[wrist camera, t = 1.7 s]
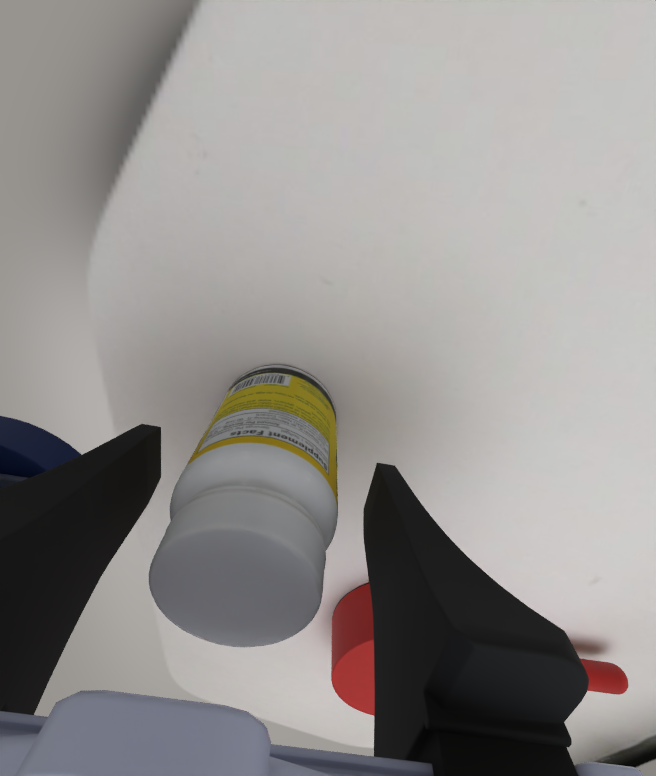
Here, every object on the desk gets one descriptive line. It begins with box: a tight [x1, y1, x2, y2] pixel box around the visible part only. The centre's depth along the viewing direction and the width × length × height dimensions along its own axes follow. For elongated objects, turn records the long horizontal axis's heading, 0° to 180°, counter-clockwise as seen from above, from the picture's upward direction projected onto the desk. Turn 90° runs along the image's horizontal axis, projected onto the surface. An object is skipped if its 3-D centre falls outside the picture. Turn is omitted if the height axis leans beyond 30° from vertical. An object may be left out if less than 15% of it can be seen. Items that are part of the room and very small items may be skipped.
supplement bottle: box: [149, 365, 338, 647], centre depth 13 cm, size 5×5×8 cm
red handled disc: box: [331, 583, 628, 716], centre depth 21 cm, size 16×7×3 cm, turn 80°
